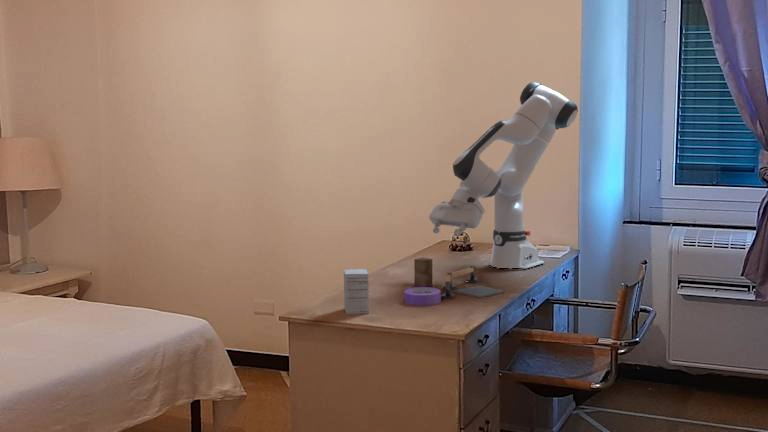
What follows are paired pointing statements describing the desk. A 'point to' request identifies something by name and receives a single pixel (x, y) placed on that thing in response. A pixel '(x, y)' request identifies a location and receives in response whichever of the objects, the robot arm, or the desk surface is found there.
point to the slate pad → (478, 291)
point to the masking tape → (422, 296)
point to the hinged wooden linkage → (449, 286)
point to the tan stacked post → (423, 272)
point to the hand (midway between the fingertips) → (445, 233)
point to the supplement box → (356, 291)
